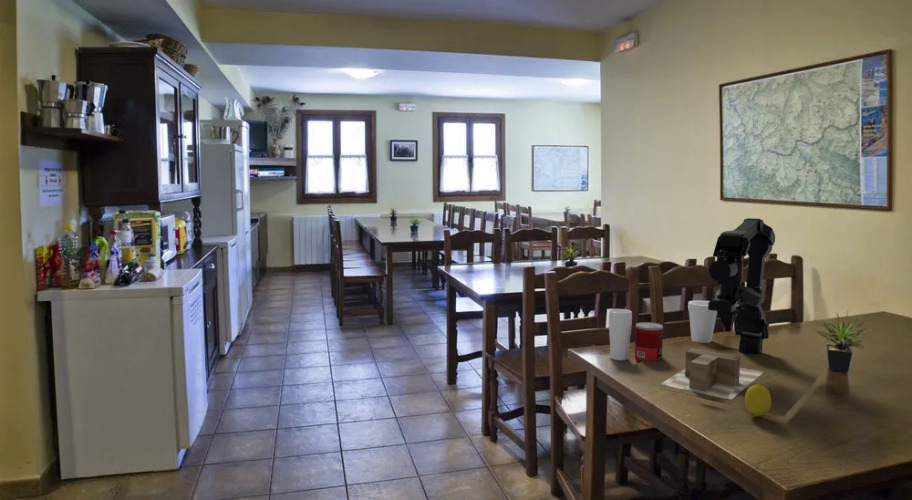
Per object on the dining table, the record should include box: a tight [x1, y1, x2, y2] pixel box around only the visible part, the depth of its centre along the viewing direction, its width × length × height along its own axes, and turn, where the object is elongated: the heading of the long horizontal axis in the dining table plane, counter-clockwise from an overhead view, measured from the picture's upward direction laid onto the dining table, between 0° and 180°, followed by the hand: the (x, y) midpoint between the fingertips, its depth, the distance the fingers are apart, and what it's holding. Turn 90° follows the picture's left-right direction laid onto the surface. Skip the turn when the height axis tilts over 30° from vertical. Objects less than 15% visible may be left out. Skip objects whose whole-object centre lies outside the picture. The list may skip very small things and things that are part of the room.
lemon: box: [744, 383, 772, 418], centre depth 146 cm, size 6×6×8 cm
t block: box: [684, 347, 741, 391], centre depth 166 cm, size 13×13×7 cm
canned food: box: [634, 322, 664, 363], centre depth 191 cm, size 8×8×11 cm
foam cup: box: [687, 299, 718, 344], centre depth 214 cm, size 10×9×13 cm
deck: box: [659, 367, 765, 405], centre depth 171 cm, size 29×18×1 cm, turn 139°
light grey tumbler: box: [608, 308, 633, 362], centre depth 192 cm, size 7×7×15 cm
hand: (728, 331), depth 178 cm, fingers closed
